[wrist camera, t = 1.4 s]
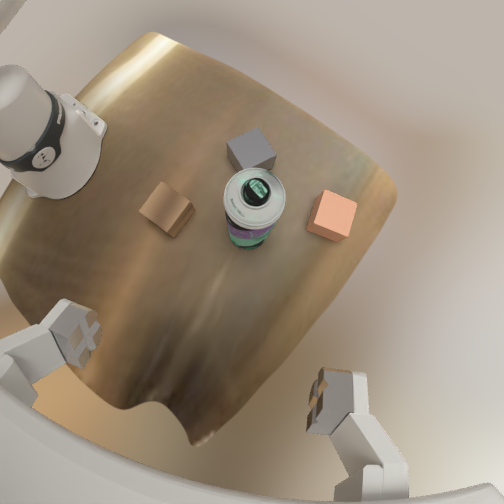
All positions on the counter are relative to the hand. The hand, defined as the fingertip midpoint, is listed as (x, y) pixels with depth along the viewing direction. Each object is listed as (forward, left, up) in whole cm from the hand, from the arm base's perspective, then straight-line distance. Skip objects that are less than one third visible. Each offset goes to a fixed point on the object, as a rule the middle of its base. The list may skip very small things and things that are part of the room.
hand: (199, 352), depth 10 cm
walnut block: (-15, +1, -33) cm, 36 cm away
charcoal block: (-14, +15, -33) cm, 39 cm away
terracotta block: (0, +18, -33) cm, 38 cm away
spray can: (-6, +8, -33) cm, 34 cm away
